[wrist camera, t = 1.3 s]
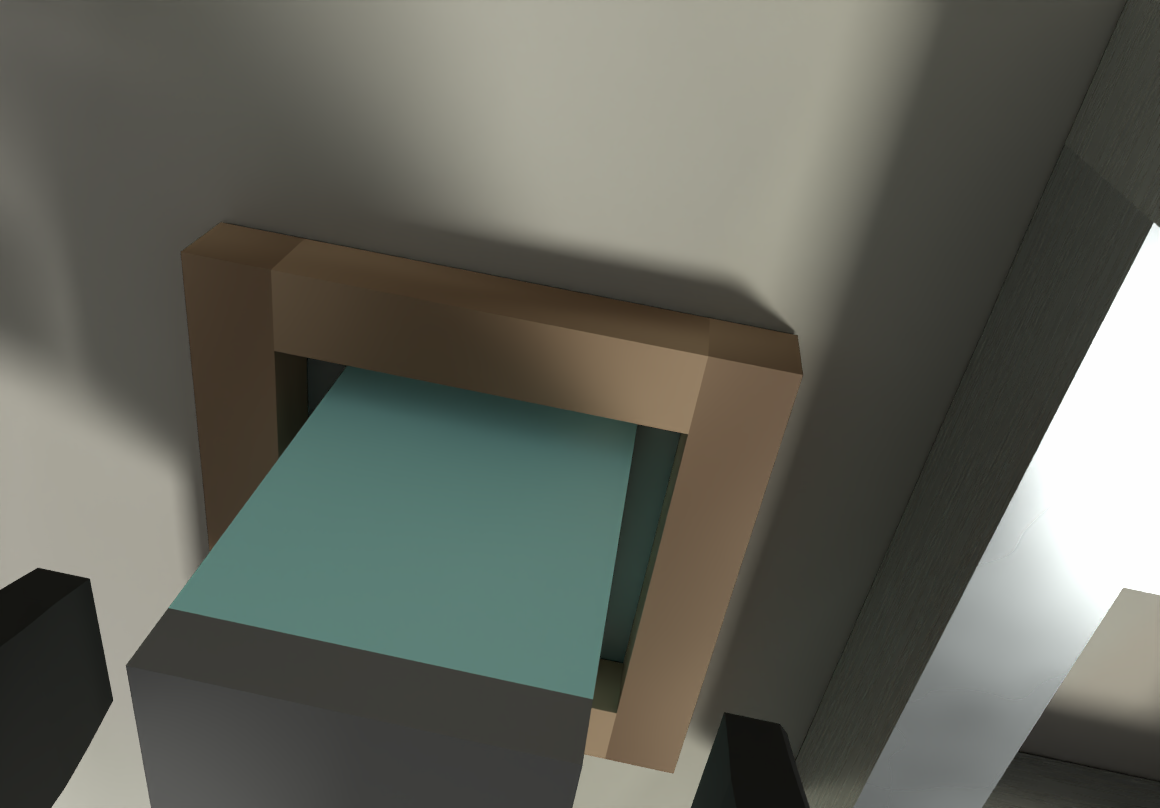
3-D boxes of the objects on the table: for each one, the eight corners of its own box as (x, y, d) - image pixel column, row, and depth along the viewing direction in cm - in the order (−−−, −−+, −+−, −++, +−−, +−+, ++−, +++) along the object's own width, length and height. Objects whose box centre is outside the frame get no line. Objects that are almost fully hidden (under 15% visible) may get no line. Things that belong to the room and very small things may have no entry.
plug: (638, 418, 12) (582, 764, 8) (592, 626, 14) (527, 996, 10) (351, 360, 12) (125, 665, 8) (348, 574, 15) (170, 914, 10)
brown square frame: (797, 335, 11) (802, 375, 10) (676, 721, 15) (673, 773, 14) (220, 221, 12) (180, 251, 11) (249, 630, 16) (221, 675, 15)
